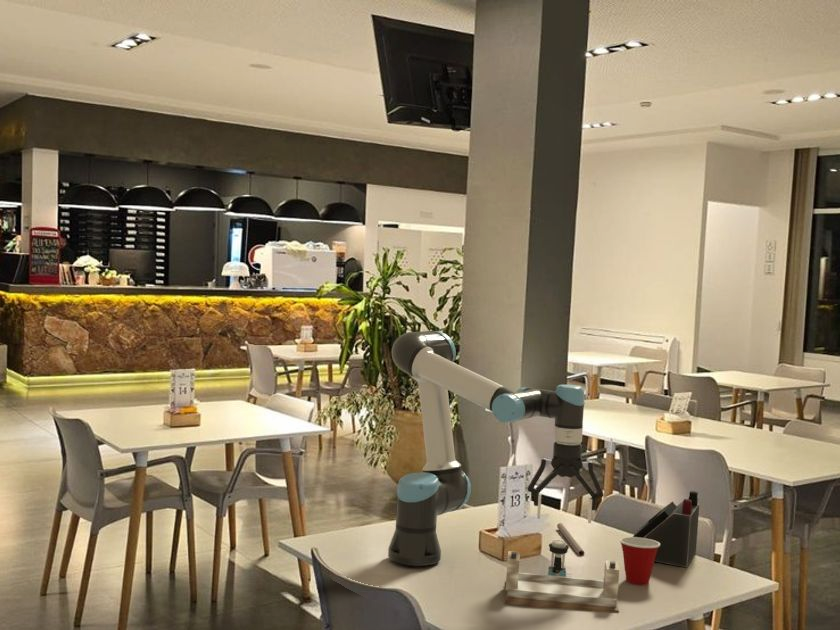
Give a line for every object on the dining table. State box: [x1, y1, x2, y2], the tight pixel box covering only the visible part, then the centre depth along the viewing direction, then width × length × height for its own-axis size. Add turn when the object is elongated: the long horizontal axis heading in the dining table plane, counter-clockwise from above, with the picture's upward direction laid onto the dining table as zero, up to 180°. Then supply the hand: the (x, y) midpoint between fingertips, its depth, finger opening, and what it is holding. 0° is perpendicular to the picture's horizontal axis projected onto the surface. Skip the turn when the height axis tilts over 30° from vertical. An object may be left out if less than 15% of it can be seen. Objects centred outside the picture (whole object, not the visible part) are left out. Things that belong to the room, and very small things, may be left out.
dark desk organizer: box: [632, 490, 700, 568], centre depth 266 cm, size 16×16×20 cm
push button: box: [547, 539, 573, 578], centre depth 245 cm, size 7×5×10 cm
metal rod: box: [556, 522, 586, 556], centre depth 279 cm, size 2×27×2 cm, turn 5°
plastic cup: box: [619, 536, 660, 586], centre depth 244 cm, size 11×11×12 cm
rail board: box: [504, 550, 620, 613], centre depth 231 cm, size 28×17×11 cm, turn 82°
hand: (563, 519), depth 244 cm, fingers open, 13 cm apart
